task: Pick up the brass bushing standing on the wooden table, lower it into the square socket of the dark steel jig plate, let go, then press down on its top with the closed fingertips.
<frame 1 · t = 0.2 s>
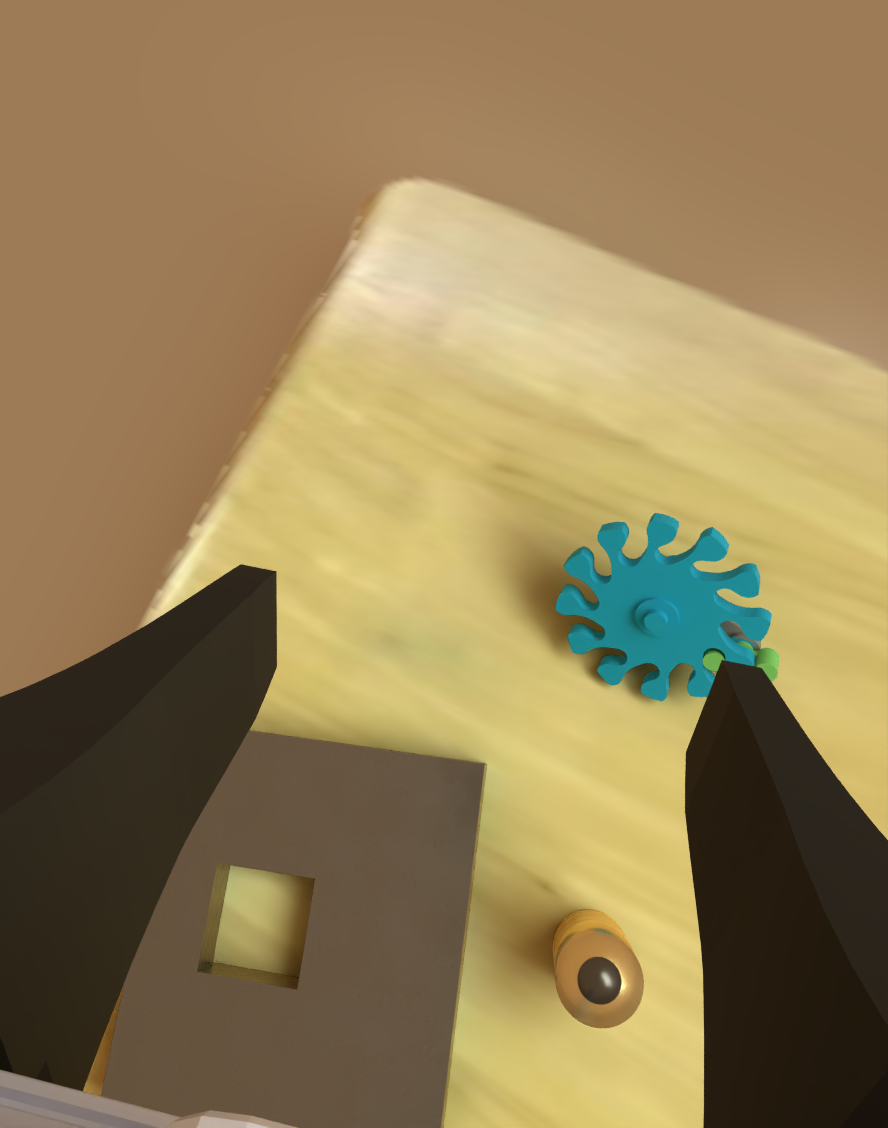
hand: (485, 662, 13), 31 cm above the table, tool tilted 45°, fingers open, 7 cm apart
jig plate: (307, 924, 42), on the table
bushing: (589, 949, 40), on the table
gear: (657, 629, 44), on the table
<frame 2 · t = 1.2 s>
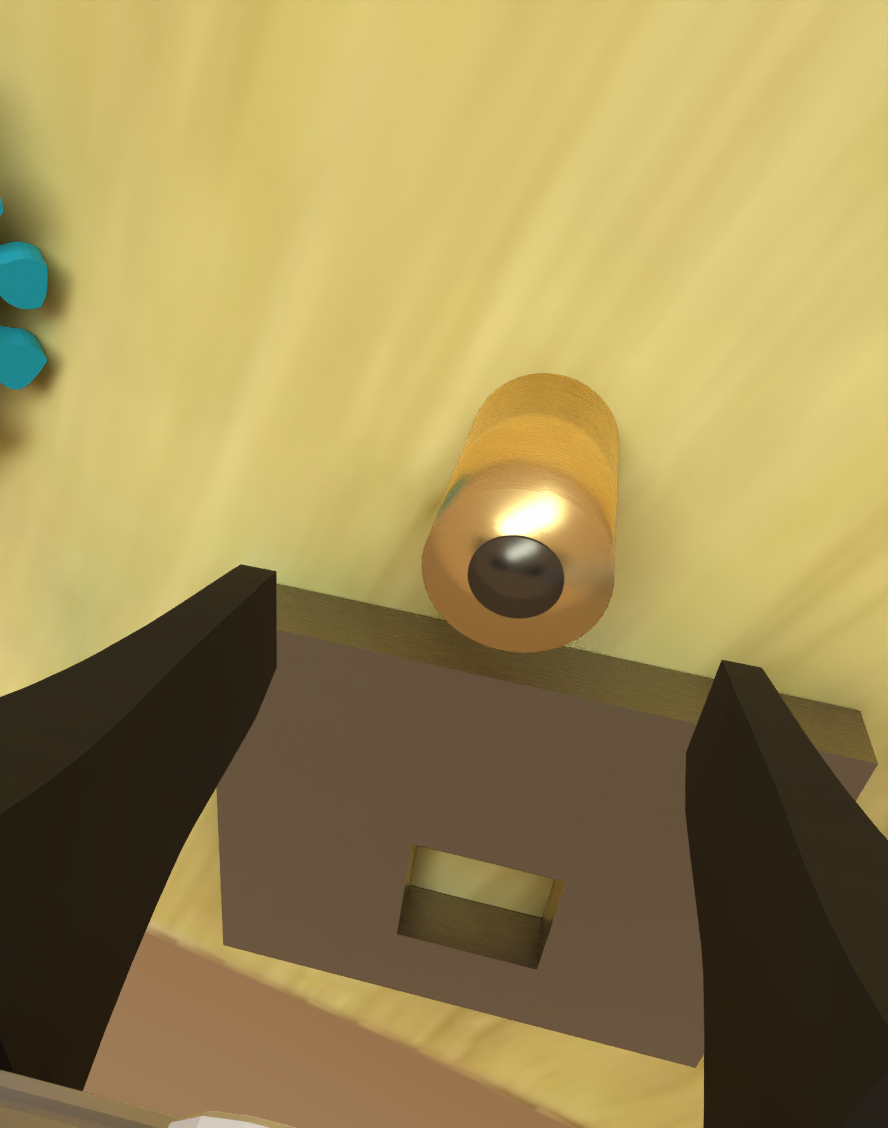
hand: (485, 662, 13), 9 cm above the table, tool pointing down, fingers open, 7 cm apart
jig plate: (494, 822, 28), on the table
bushing: (544, 443, 21), on the table
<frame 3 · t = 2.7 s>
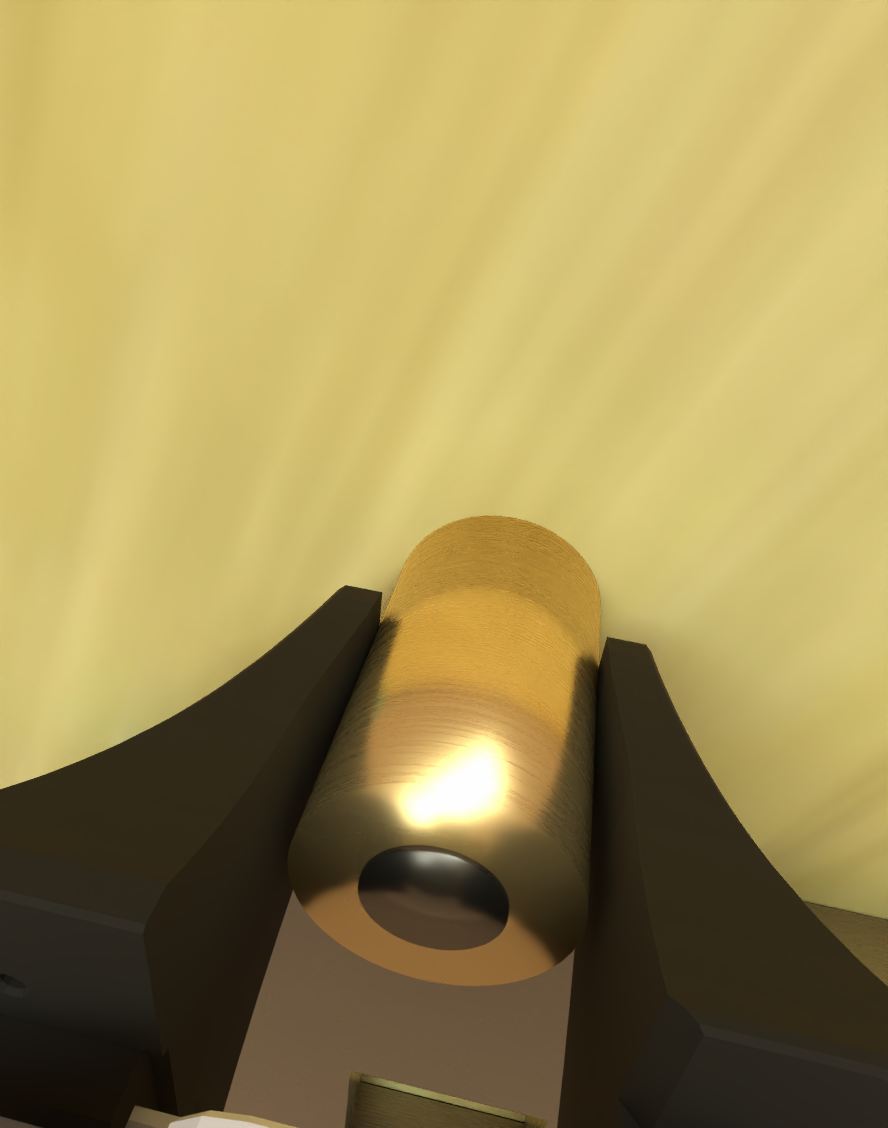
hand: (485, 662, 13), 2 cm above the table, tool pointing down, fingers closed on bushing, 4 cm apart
jig plate: (459, 1025, 23), on the table
bushing: (497, 604, 15), on the table, touching gripper
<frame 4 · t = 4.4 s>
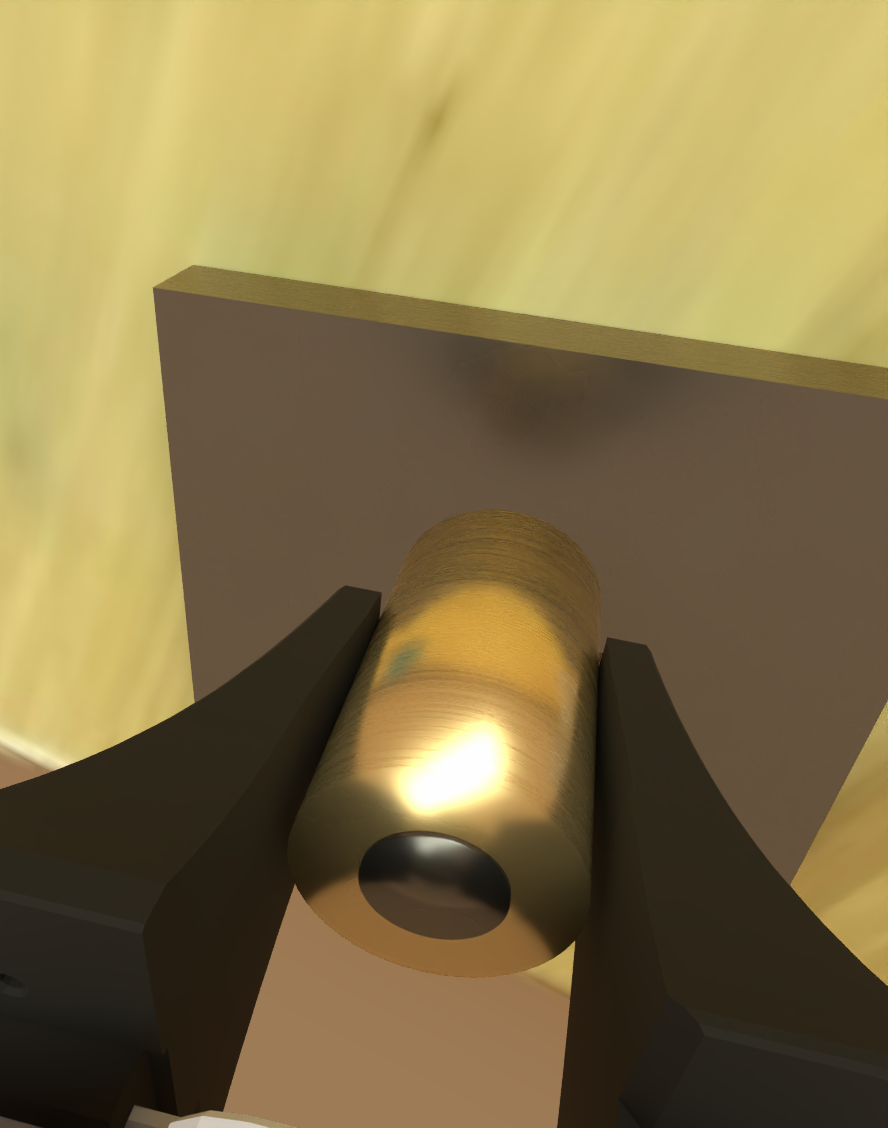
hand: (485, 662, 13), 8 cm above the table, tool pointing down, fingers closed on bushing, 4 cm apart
jig plate: (523, 607, 23), on the table
bushing: (498, 599, 15), point 7 cm above the table, touching gripper
when the fingers open (3 cm above the table, at t = 6.3 s): bushing stays where it is, resting in jig plate.
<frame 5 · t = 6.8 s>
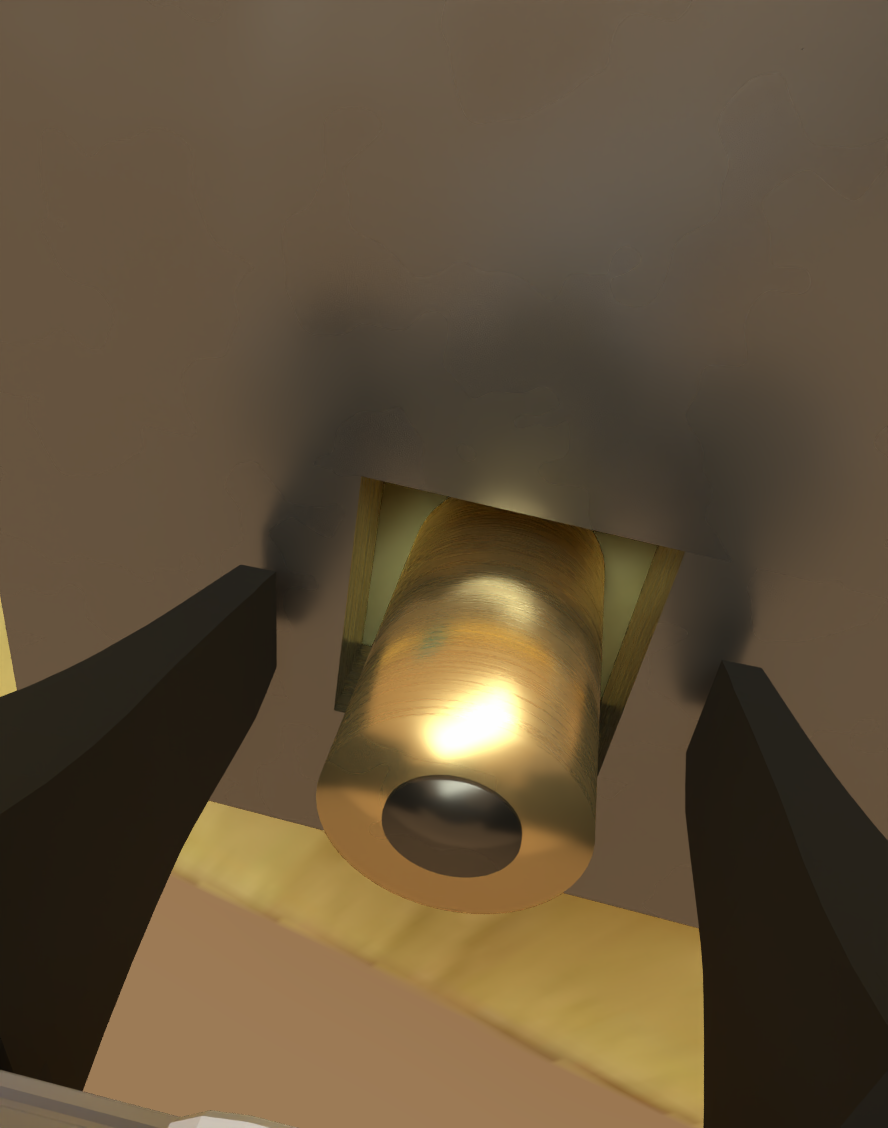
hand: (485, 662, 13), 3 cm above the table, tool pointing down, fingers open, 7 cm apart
jig plate: (527, 481, 14), on the table
bushing: (506, 570, 16), resting in jig plate
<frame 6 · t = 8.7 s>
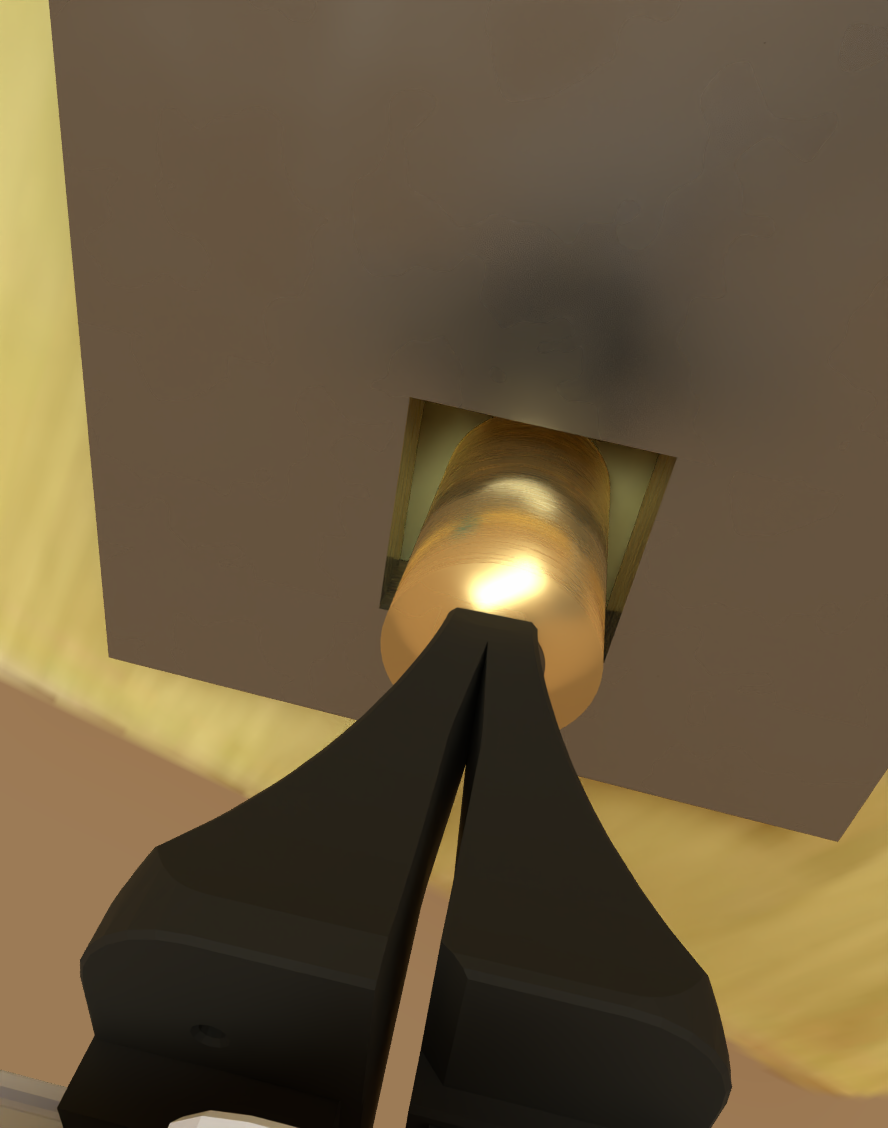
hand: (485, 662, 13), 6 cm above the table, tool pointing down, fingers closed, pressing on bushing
jig plate: (544, 409, 17), on the table
bushing: (526, 487, 18), resting in jig plate, touching gripper
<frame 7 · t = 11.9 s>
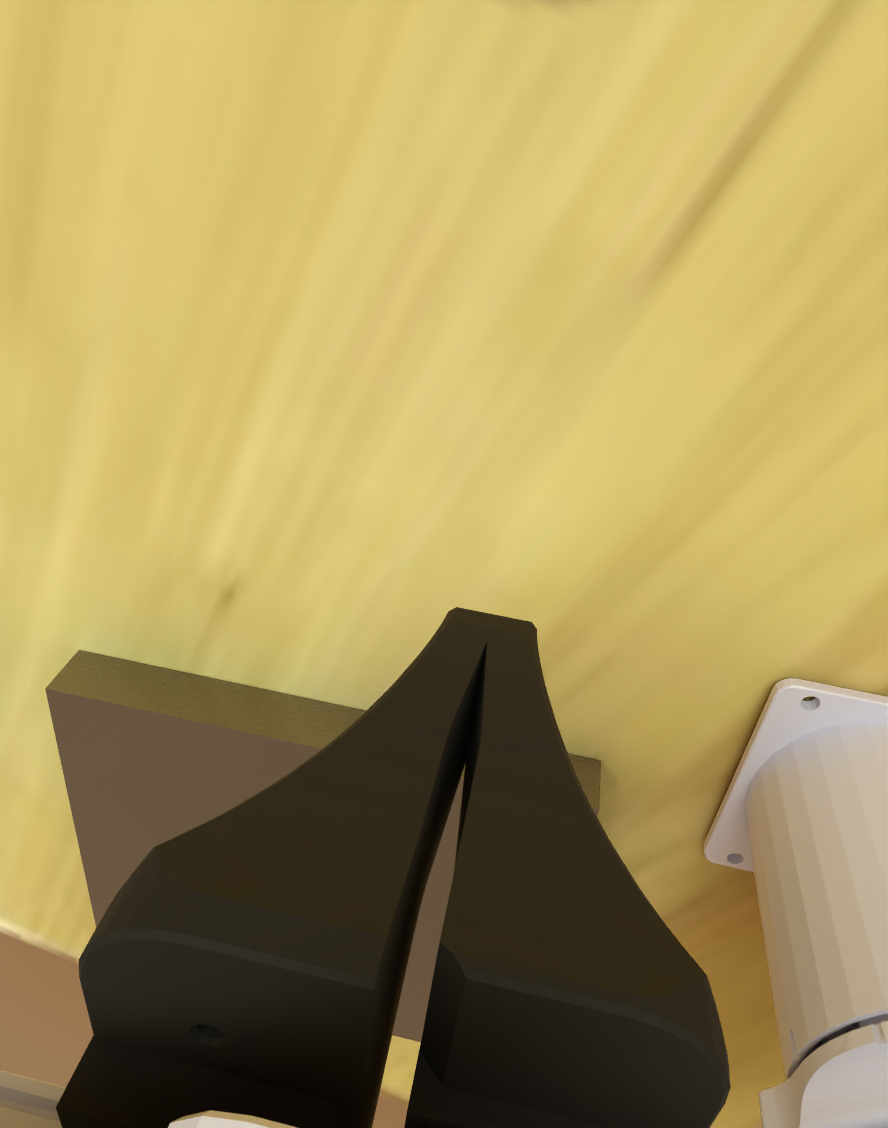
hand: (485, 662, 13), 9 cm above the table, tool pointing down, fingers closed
jig plate: (325, 854, 32), on the table
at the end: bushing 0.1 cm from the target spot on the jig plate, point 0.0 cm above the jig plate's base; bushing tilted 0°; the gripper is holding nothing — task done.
